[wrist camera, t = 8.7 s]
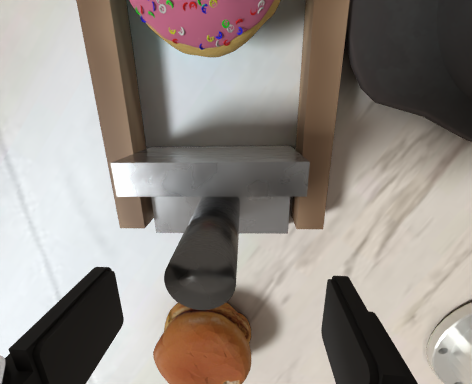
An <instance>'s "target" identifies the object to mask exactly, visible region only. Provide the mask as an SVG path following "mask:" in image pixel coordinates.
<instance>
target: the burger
mask: <svg viewBox="0 0 472 384" xmlns="http://www.w3.org/2000/svg"><path fill="white" fill-rule="evenodd" d="M250 339H251V327H250V324H249V322H248V320H247V318H246V317H245V316H244V315H242V314H241V313H238V312H237V311H236V310H235V309H234V308H233V307H231V306H230V304H228V303H225V304H223V305H221V306H220V307H217V308H214V309H210V310H196V309H192V308H188V307H186V306H184V305H182V304H180V303H177V304H176V305H175V306H174V307H173V308H172V309H171V310H170V312H169V314H168V316H167V319H166V323H165V328H164V333H163V335H162V336H161V338H160V340H159V341H158V342H157V344H156V346H155V349H154V352H153V355H154V360H155V363H156V366H157V368H158V370H159V371H160V373H161V375H162V376H163V377H164V378H165V379H166V381H167V382H168V383H169V384H242V383H243V382H244V380H245V379H246V377H247V375H248V373H249V371H250V368H251V352H250V347H249V342H250Z"/></svg>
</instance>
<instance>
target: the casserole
mask: <svg viewBox="0 0 472 384" xmlns="http://www.w3.org/2000/svg"><path fill="white" fill-rule="evenodd" d="M345 37H346V43H347V48H348V53H349V59H350V64H351V67H352V70H353V72H354V74H355V77H356V79H357V81H358V84H359V86H360V88H361V89H362V90H363V91H364V92H365V93H366V94H367V95H368V96H369V97H370V98H371V99H372V100H373V101H374V102H375V103H379V104H382V105H386V106H389V107H392V108H396V109H399V110H403V111H406V112H409V113H413V114H416V115H420V116H423V117H425V118H427V119H429V120H431V121H432V122H434V123H436V124H438V125H440V126H441V127H443V128H445V129H447V130H449V131H451V132H452V133H454V134H456V135H458V136H460V137H462V138H463V139H465V140H468V141H472V0H350V2H349V10H348V19H347V27H346V36H345Z"/></svg>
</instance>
